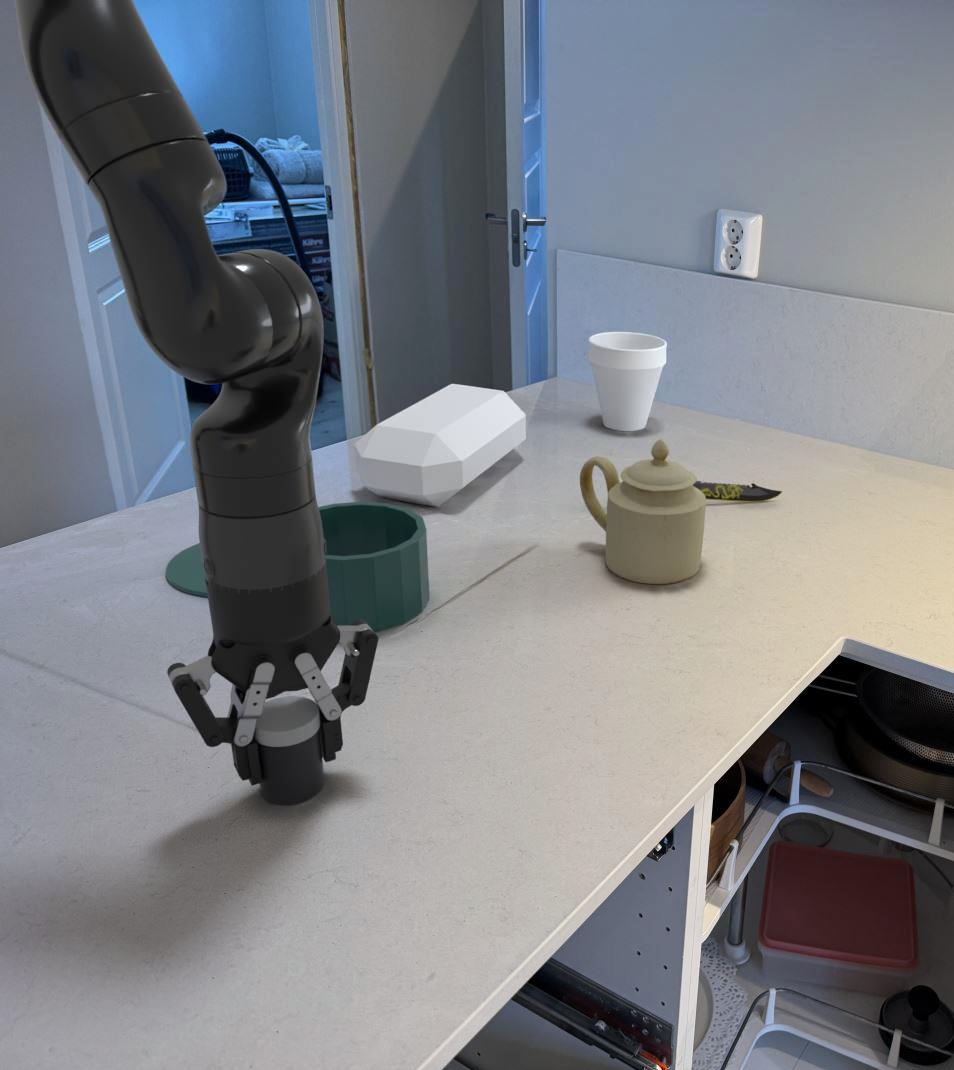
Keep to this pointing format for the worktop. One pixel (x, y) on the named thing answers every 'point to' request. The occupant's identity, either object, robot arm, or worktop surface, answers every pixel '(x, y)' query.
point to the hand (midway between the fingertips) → (290, 766)
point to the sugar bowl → (649, 518)
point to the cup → (626, 376)
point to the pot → (375, 563)
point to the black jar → (289, 750)
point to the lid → (188, 571)
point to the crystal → (439, 444)
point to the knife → (735, 492)
